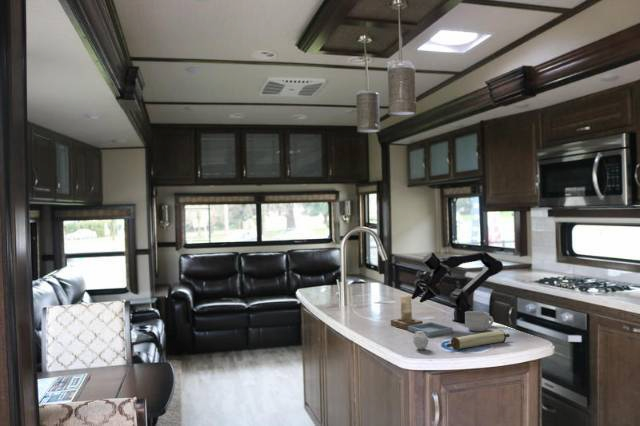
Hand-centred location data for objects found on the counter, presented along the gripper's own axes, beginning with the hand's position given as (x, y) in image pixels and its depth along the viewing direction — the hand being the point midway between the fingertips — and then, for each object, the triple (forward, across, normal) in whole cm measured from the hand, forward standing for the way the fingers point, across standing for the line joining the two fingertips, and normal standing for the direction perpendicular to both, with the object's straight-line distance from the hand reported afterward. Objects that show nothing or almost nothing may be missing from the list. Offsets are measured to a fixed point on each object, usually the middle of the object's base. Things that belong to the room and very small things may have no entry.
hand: (416, 300), depth 236 cm
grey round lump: (+20, +38, -3) cm, 43 cm away
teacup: (-7, +19, +24) cm, 32 cm away
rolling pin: (+3, +41, +15) cm, 43 cm away
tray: (+8, +14, +8) cm, 18 cm away
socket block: (+12, 0, +5) cm, 13 cm away
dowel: (+12, 0, +5) cm, 13 cm away
